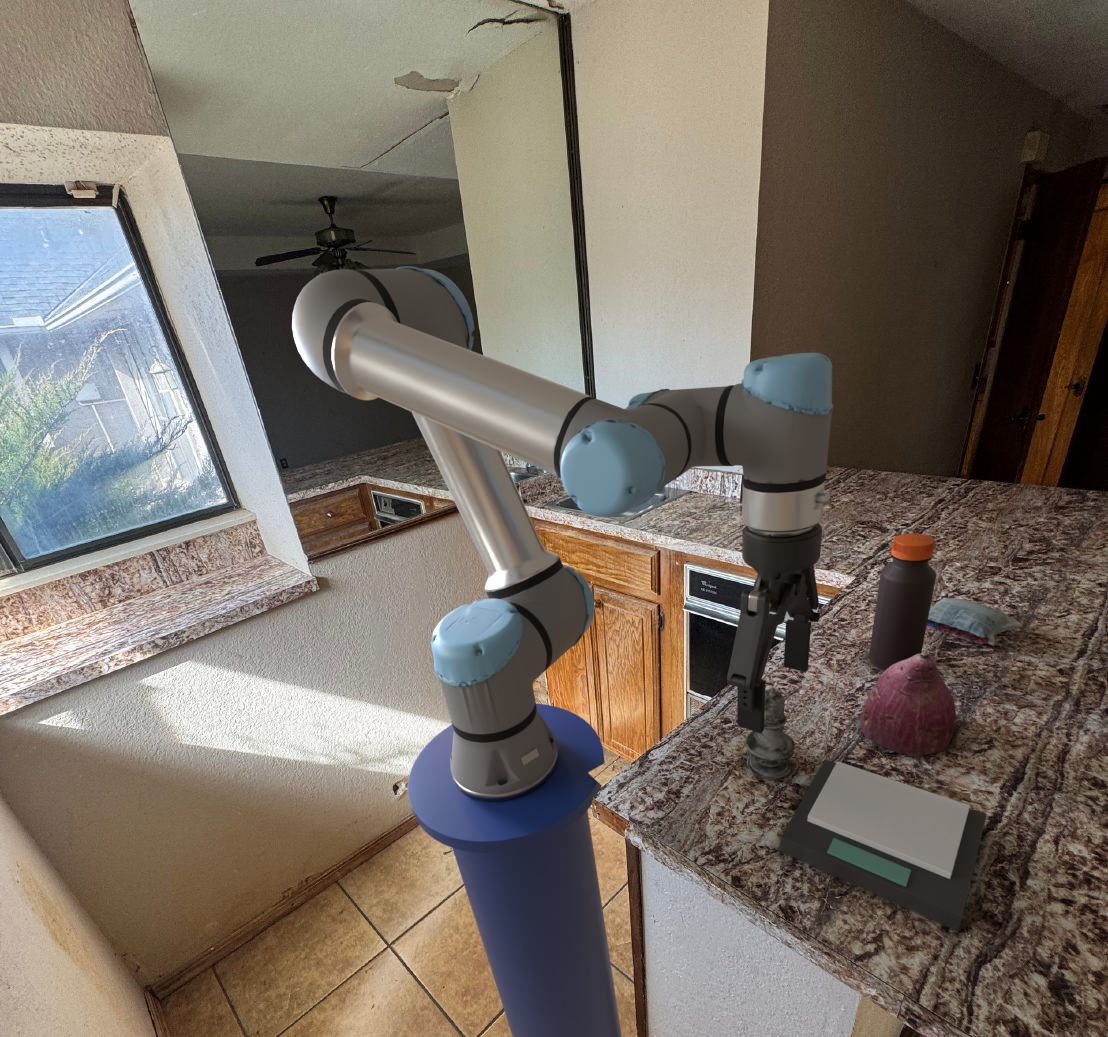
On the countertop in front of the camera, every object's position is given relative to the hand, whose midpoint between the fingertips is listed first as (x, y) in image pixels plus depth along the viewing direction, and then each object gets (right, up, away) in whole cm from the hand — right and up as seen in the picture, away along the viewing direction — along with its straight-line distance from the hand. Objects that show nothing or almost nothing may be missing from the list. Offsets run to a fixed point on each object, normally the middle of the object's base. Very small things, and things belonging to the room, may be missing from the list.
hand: (774, 696), depth 67 cm
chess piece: (+1, -10, +5) cm, 11 cm away
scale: (+9, -15, -7) cm, 18 cm away
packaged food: (+41, +7, +25) cm, 48 cm away
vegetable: (+20, -5, +7) cm, 22 cm away
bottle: (+26, +3, +21) cm, 34 cm away
